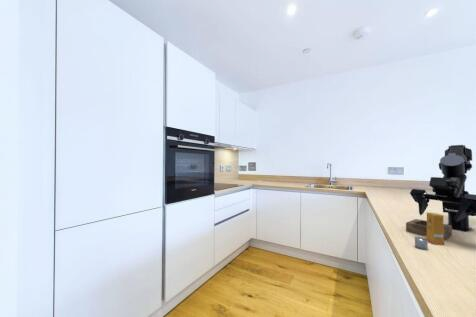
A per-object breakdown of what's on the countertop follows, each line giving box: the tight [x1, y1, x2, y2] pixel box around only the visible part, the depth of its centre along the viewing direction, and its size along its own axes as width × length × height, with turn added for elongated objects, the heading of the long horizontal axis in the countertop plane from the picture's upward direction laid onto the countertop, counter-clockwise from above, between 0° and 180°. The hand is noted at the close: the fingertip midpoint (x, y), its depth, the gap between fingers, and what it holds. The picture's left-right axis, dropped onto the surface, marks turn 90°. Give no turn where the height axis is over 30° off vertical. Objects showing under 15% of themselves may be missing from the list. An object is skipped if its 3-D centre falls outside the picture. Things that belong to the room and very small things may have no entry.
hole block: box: [405, 218, 453, 240], centre depth 76 cm, size 10×10×4 cm
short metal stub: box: [414, 236, 429, 251], centre depth 62 cm, size 3×3×3 cm
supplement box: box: [426, 212, 445, 246], centre depth 66 cm, size 3×3×10 cm
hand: (436, 217), depth 67 cm, fingers open, 9 cm apart
